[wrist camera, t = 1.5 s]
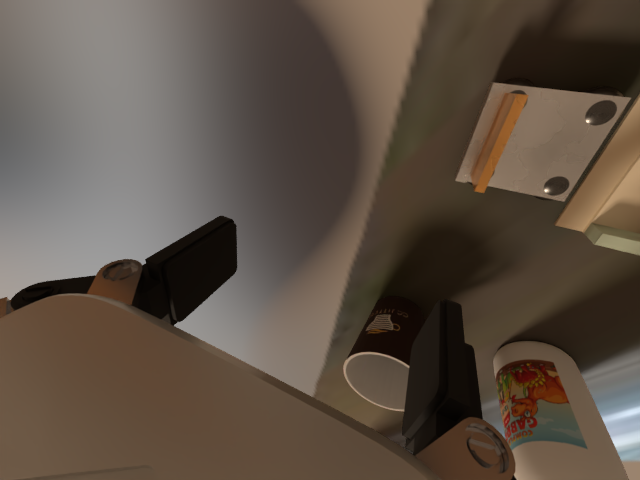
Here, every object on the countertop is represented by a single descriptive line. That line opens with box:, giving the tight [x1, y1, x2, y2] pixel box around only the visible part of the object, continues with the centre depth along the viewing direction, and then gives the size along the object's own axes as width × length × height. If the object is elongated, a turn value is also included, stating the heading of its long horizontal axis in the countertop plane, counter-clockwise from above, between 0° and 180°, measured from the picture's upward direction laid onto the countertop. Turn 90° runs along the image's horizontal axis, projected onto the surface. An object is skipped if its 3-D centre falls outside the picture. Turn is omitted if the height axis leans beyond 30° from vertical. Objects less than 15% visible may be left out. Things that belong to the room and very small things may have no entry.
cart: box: [455, 78, 631, 202], centre depth 19 cm, size 8×8×7 cm
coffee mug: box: [343, 296, 424, 411], centre depth 31 cm, size 12×9×10 cm
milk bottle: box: [493, 341, 629, 480], centre depth 23 cm, size 8×8×20 cm
